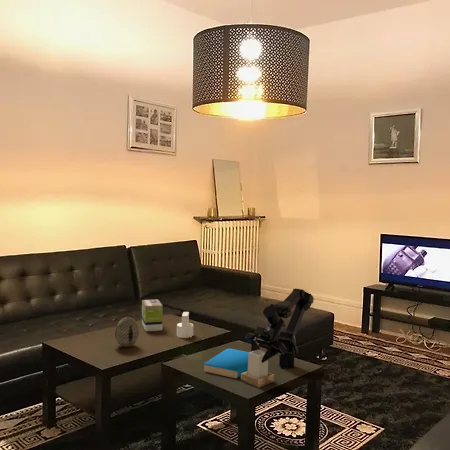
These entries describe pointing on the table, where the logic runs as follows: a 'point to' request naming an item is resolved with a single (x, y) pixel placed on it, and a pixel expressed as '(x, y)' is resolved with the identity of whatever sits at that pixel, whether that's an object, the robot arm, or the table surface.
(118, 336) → the decorative egg
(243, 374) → the pine crate
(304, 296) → the robot arm
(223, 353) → the book
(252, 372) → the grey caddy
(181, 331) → the cylinder with rectangular tab
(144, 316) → the tea box
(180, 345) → the table surface
